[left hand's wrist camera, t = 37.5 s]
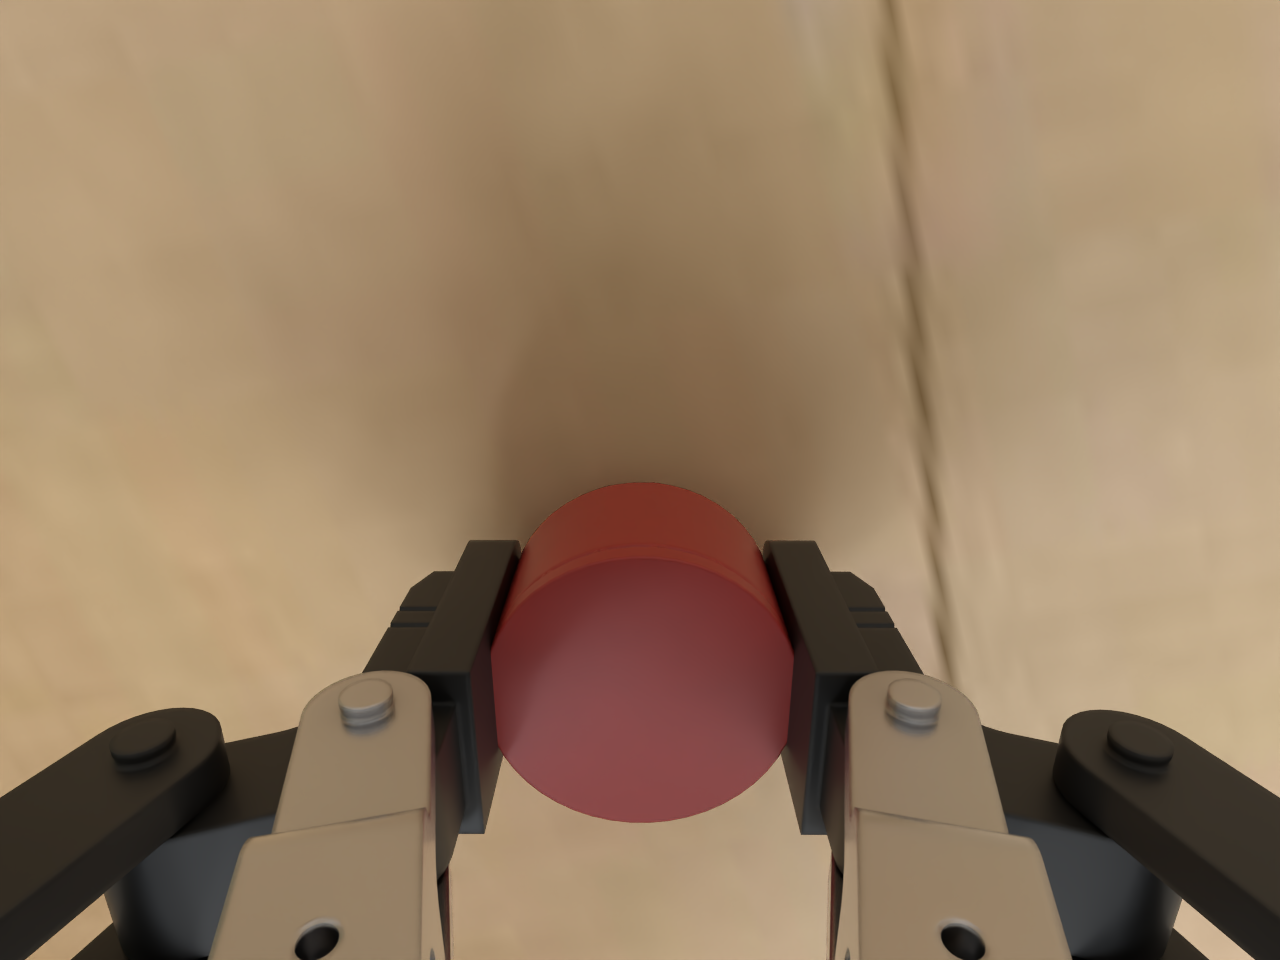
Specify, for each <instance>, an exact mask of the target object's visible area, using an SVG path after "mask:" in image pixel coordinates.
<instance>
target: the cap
mask: <svg viewBox="0 0 1280 960" xmlns="http://www.w3.org/2000/svg"><path fill="white" fill-rule="evenodd" d="M793 663H794V650H793V647H792V644H791V641H790V638H789V635H788V632H787V629H786V626H785V623H784V619H783V616H782V613H781V610H780V607H779V604H778V601H777V598H776V595H775V592H774V589H773V586H772V583H771V580H770V577H769V574H768V571H767V568H766V565H765V562H764V559H763V557H762V554H761V552H760V550H759V548H758V547H757V545H756V543H755V541H754V540H753V538H752V537H751V535H750V534H749V533H748V532H747V530H746V529H745V528H744V526H743V525H742V524H741V523H740V522H739V521H738V520H737V519H736V518H735V517H734V516H733V515H731V514H730V513H729V512H727V511H726V510H725V509H723V508H722V507H721V506H719V505H718V504H716V503H715V502H713V501H711V500H709V499H707V498H706V497H704V496H702V495H699V494H697V493H694V492H692V491H689V490H687V489H683V488H679V487H675V486H671V485H665V484H660V483H654V482H653V483H635V482H634V483H625V484H616V485H611V486H607V487H603V488H599V489H597V490H594V491H591V492H589V493H586V494H583V495H581V496H579V497H577V498H575V499H574V500H572V501H570V502H568V503H566V504H565V505H563V506H562V507H560V508H559V509H558V510H556V511H555V512H554V513H553V514H551V515H550V516H549V517H548V518H547V519H546V520H545V521H544V522H543V523H542V524H541V525H540V526H539V527H538V529H537V530H536V531H535V532H534V534H533V535H532V536H531V538H530V539H529V541H528V543H527V544H526V546H525V548H524V549H523V551H522V554H521V556H520V559H519V561H518V564H517V567H516V571H515V574H514V577H513V580H512V583H511V586H510V589H509V592H508V595H507V598H506V601H505V604H504V608H503V611H502V614H501V617H500V620H499V623H498V626H497V629H496V633H495V636H494V638H493V642H492V645H491V665H492V677H493V690H494V702H495V715H496V728H497V740H498V747H499V749H500V750H501V752H502V754H503V755H504V757H505V758H506V759H507V761H508V762H509V763H510V764H511V766H512V767H513V768H514V769H515V770H516V771H517V772H518V773H519V774H520V775H521V776H522V777H523V778H524V779H525V780H526V781H527V782H528V783H529V784H530V785H532V786H533V787H534V788H536V789H537V790H538V791H539V792H541V793H542V794H544V795H546V796H547V797H549V798H551V799H552V800H554V801H555V802H557V803H559V804H562V805H564V806H566V807H568V808H570V809H572V810H575V811H578V812H581V813H584V814H587V815H590V816H593V817H598V818H602V819H607V820H612V821H621V822H632V823H651V822H662V821H670V820H676V819H681V818H686V817H689V816H693V815H696V814H699V813H702V812H706V811H708V810H710V809H713V808H715V807H717V806H719V805H722V804H724V803H726V802H727V801H729V800H731V799H732V798H734V797H736V796H738V795H739V794H741V793H742V792H743V791H745V790H746V789H747V788H749V787H750V786H752V785H753V784H754V783H755V782H756V781H757V780H758V779H759V778H760V777H761V776H763V775H764V774H765V773H766V772H767V771H768V769H769V768H770V767H771V766H772V764H773V763H774V762H775V761H776V759H777V758H778V757H779V755H780V754H781V752H782V750H783V749H784V747H785V745H786V744H787V736H788V724H789V712H790V700H791V687H792V675H793Z"/></svg>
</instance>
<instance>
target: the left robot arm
mask: <svg viewBox="0 0 1280 960" xmlns="http://www.w3.org/2000/svg"><path fill="white" fill-rule="evenodd" d="M520 556H521V548H520V544H519V541H518V540H470V541H469V542H468V544H467V546H466V548H465V550H464V552H463V554H462V557H461V559H460V561H459V563H458V565H457V567H456V569H455V571H434V572H433V573H431V574H430V575H428V576H427V577H426V578H424V579H423V580H421V581H420V582H419V583H417V584H416V585H414V586H413V587H411V589H410V590H409V592H408V594H407V596H406V597H405V599H404V601H403V602H402V604H401V606H400V611H397V613H396V615H395V616H394V618H393V620H392V622H391V627H388V629H387V630H386V632H385V634H384V636H383V637H382V639H381V641H380V643H379V644H378V646H377V648H376V650H375V651H374V653H373V655H372V657H371V658H370V660H369V662H368V664H367V665H366V667H365V669H364V671H363V672H362V673H361V674H357V675H354V676H350V677H348V678H345V679H342V680H340V681H338V682H335V683H333V684H331V685H330V686H328V687H326V688H325V689H323V690H322V691H320V692H319V693H318V694H316V695H315V696H314V697H313V698H312V699H311V700H310V701H309V702H308V704H307V705H306V707H305V708H304V710H303V712H302V715H301V718H300V722H299V726H298V727H295V728H292V729H289V730H285V731H281V732H277V733H272V734H268V735H263V736H258V737H253V738H248V739H243V740H238V741H234V742H229V743H225V742H224V738H223V734H222V729H221V726H220V722H219V721H218V719H217V718H216V717H215V716H213V715H212V714H211V713H209V712H206V711H203V710H199V709H194V708H171V709H164V710H158V711H154V712H149V713H145V714H142V715H139V716H136V717H133V718H130V719H128V720H125V721H123V722H121V723H118V724H116V725H114V726H112V727H110V728H108V729H107V730H105V731H103V732H102V733H100V734H98V735H97V736H95V737H94V738H92V739H90V740H89V741H87V742H86V743H84V744H83V745H81V746H80V747H78V748H77V749H75V750H73V751H72V752H70V753H69V754H67V755H66V756H64V757H63V758H61V759H60V760H58V761H56V762H55V763H53V764H52V765H50V766H49V767H47V768H46V769H44V770H43V771H41V772H39V773H38V774H36V775H35V776H33V777H32V778H30V779H29V780H27V781H26V782H24V783H22V784H21V785H19V786H18V787H16V788H15V789H13V790H12V791H10V792H9V793H7V794H5V795H4V796H2V797H1V798H0V960H25V959H26V958H28V957H29V956H30V955H31V954H32V953H33V952H35V951H36V950H37V949H38V948H39V947H41V946H42V945H43V944H44V943H45V942H47V941H48V940H49V939H50V938H51V937H52V936H54V935H55V934H56V933H57V932H58V931H60V930H61V929H62V928H63V927H64V926H66V925H67V924H68V923H69V922H70V921H71V920H73V919H74V918H75V917H76V916H77V915H79V914H80V913H81V912H82V911H83V910H85V909H86V908H87V907H88V906H89V905H91V904H92V903H93V902H94V901H95V900H96V899H98V898H99V897H100V896H101V895H102V894H104V895H105V898H106V901H107V905H108V908H109V911H110V914H111V917H112V920H113V923H112V924H111V925H110V926H108V927H107V928H106V929H105V930H104V931H103V932H102V933H101V934H99V935H98V936H97V937H96V938H95V939H94V940H93V941H92V942H90V943H89V944H88V945H87V946H86V947H85V948H84V949H83V950H81V951H80V952H79V953H78V954H77V955H76V956H75V957H73V958H72V959H71V960H454V950H453V908H452V878H451V869H450V860H451V858H452V855H453V851H454V848H455V844H456V841H457V837H458V834H484V833H485V829H486V825H487V820H488V816H489V812H490V808H491V804H492V800H493V795H494V791H495V787H496V783H497V779H498V775H499V770H500V766H501V762H502V758H503V754H502V752H501V750H500V749H499V747H498V740H497V728H496V715H495V702H494V690H493V677H492V665H491V645H492V642H493V638H494V636H495V633H496V629H497V626H498V623H499V620H500V617H501V614H502V611H503V608H504V604H505V601H506V598H507V595H508V592H509V589H510V586H511V583H512V580H513V577H514V574H515V571H516V567H517V564H518V561H519V559H520ZM763 559H764V562H765V565H766V568H767V571H768V574H769V577H770V580H771V583H772V586H773V589H774V592H775V595H776V598H777V601H778V604H779V607H780V610H781V613H782V616H783V619H784V623H785V626H786V629H787V632H788V635H789V638H790V641H791V644H792V647H793V650H794V663H793V675H792V687H791V700H790V712H789V724H788V736H787V744H786V745H785V747H784V749H783V750H782V752H781V756H782V760H783V764H784V768H785V772H786V776H787V780H788V784H789V788H790V792H791V796H792V800H793V804H794V809H795V813H796V817H797V821H798V825H799V829H800V833H801V835H827V836H828V839H829V843H830V846H831V850H832V852H831V861H830V870H829V878H828V909H827V950H826V960H1209V959H1208V958H1207V957H1205V956H1204V955H1203V954H1202V953H1201V952H1200V951H1199V950H1198V949H1196V948H1195V947H1194V946H1193V945H1192V944H1191V943H1190V942H1188V941H1187V940H1186V939H1185V938H1184V937H1183V936H1182V935H1181V934H1179V933H1178V932H1177V931H1176V930H1175V929H1174V928H1173V926H1174V923H1175V920H1176V916H1177V913H1178V910H1179V907H1180V904H1181V901H1182V899H1184V900H1185V901H1186V902H1187V903H1188V904H1190V905H1191V906H1192V907H1193V908H1194V909H1195V910H1197V911H1198V912H1199V913H1200V914H1201V915H1203V916H1204V917H1205V918H1206V919H1207V920H1209V921H1210V922H1211V923H1212V924H1213V925H1214V926H1216V927H1217V928H1218V929H1219V930H1220V931H1222V932H1223V933H1224V934H1225V935H1226V936H1228V937H1229V938H1230V939H1231V940H1232V941H1234V942H1235V943H1236V944H1237V945H1238V946H1239V947H1241V948H1242V949H1243V950H1244V951H1245V952H1247V953H1248V954H1249V955H1250V956H1251V957H1253V958H1254V959H1255V960H1280V798H1279V797H1278V796H1276V795H1275V794H1273V793H1272V792H1270V791H1268V790H1267V789H1265V788H1264V787H1262V786H1261V785H1259V784H1258V783H1256V782H1255V781H1253V780H1251V779H1250V778H1248V777H1247V776H1245V775H1244V774H1242V773H1241V772H1239V771H1238V770H1236V769H1234V768H1233V767H1231V766H1230V765H1228V764H1227V763H1225V762H1224V761H1222V760H1221V759H1219V758H1217V757H1216V756H1214V755H1213V754H1211V753H1210V752H1208V751H1207V750H1205V749H1204V748H1202V747H1200V746H1199V745H1197V744H1196V743H1194V742H1193V741H1191V740H1190V739H1188V738H1187V737H1185V736H1183V735H1182V734H1180V733H1178V732H1176V731H1175V730H1173V729H1171V728H1169V727H1167V726H1165V725H1162V724H1160V723H1158V722H1155V721H1153V720H1150V719H1147V718H1144V717H1141V716H1138V715H1134V714H1129V713H1125V712H1119V711H1112V710H1089V711H1084V712H1080V713H1077V714H1075V715H1072V716H1071V717H1070V718H1068V719H1067V720H1066V722H1065V723H1064V724H1063V728H1062V731H1061V736H1060V740H1059V744H1058V743H1053V742H1048V741H1044V740H1039V739H1034V738H1029V737H1024V736H1019V735H1014V734H1010V733H1006V732H1002V731H998V730H994V729H991V728H988V727H985V726H983V725H981V722H980V718H979V715H978V712H977V710H976V708H975V707H974V705H973V704H972V702H971V701H970V700H969V699H968V698H967V697H966V696H965V695H964V694H962V693H961V692H960V691H958V690H957V689H955V688H954V687H952V686H950V685H949V684H947V683H945V682H942V681H940V680H938V679H935V678H933V677H930V676H926V675H924V674H923V672H922V670H921V669H920V667H919V665H918V664H917V662H916V660H915V658H914V657H913V655H912V653H911V652H910V650H909V648H908V646H907V645H906V643H905V641H904V640H903V638H902V636H901V634H900V633H899V631H898V629H897V628H894V622H893V621H892V619H891V617H890V616H889V614H888V612H885V607H884V605H883V604H882V602H881V600H880V598H879V597H878V595H877V593H876V592H875V590H874V588H872V587H871V586H870V585H868V584H867V583H865V582H864V581H862V580H861V579H860V578H858V577H857V576H855V575H854V574H853V573H851V572H830V570H829V568H828V566H827V564H826V562H825V560H824V558H823V556H822V554H821V552H820V550H819V548H818V546H817V544H816V542H815V541H766V542H765V544H764V549H763Z"/></svg>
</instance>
